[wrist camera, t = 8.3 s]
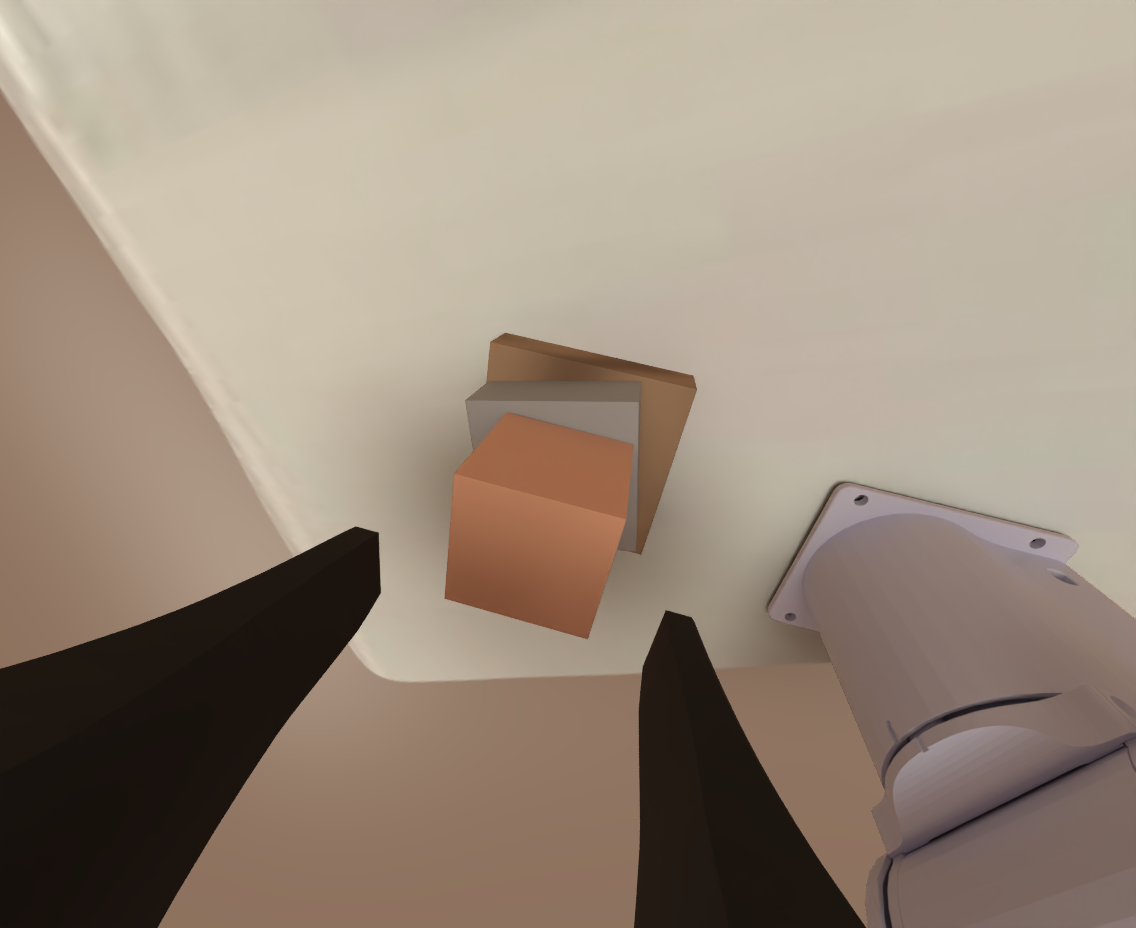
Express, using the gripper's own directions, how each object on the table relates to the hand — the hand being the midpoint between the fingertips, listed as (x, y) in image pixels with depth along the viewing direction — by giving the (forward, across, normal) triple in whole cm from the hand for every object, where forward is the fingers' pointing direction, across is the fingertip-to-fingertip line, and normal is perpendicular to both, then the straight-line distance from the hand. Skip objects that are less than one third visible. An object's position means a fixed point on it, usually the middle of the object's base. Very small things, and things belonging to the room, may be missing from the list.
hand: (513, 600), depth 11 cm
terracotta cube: (+6, 0, 0) cm, 6 cm away
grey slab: (+8, 0, 0) cm, 9 cm away
